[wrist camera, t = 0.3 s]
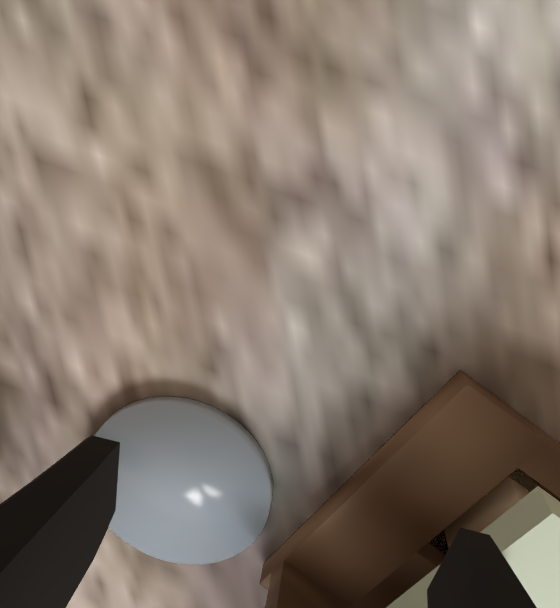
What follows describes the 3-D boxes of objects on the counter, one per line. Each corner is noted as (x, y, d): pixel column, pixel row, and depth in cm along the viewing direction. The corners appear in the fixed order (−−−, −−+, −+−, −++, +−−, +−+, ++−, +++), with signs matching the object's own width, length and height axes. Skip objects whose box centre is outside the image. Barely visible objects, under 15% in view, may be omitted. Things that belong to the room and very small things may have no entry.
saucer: (207, 579, 25) (203, 593, 24) (62, 484, 24) (53, 495, 23) (311, 472, 22) (309, 484, 21) (148, 359, 21) (140, 367, 20)
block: (510, 575, 22) (542, 663, 19) (443, 528, 22) (463, 608, 18) (577, 525, 21) (627, 609, 17) (508, 474, 21) (543, 549, 17)
